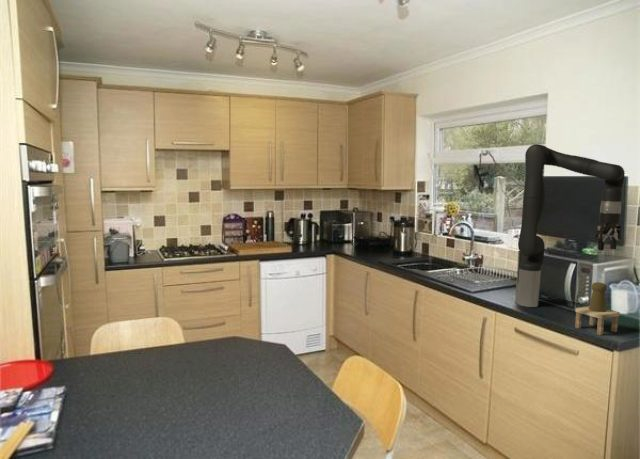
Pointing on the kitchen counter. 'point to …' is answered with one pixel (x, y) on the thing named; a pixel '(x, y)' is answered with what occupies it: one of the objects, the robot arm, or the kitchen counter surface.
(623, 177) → the robot arm
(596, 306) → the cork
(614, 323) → the birch stool
